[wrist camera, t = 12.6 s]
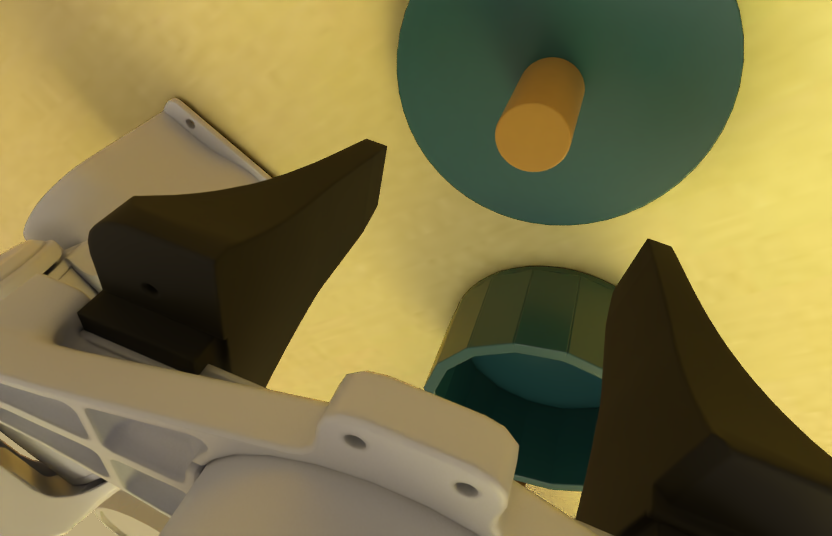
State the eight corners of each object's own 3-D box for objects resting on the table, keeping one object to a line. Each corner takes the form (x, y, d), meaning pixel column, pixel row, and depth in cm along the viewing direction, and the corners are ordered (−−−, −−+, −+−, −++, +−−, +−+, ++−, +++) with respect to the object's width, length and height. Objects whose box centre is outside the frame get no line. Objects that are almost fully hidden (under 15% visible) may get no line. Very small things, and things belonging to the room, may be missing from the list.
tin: (417, 321, 32) (384, 392, 28) (561, 228, 25) (542, 308, 21) (544, 427, 35) (530, 505, 31) (710, 372, 27) (718, 467, 23)
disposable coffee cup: (230, 364, 43) (124, 503, 35) (304, 436, 47) (225, 577, 39) (172, 381, 49) (69, 504, 41) (243, 444, 53) (162, 568, 44)
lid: (361, 107, 24) (307, 162, 21) (519, -212, 16) (476, -214, 12) (577, 256, 25) (562, 333, 22) (833, 36, 17) (880, 102, 13)
